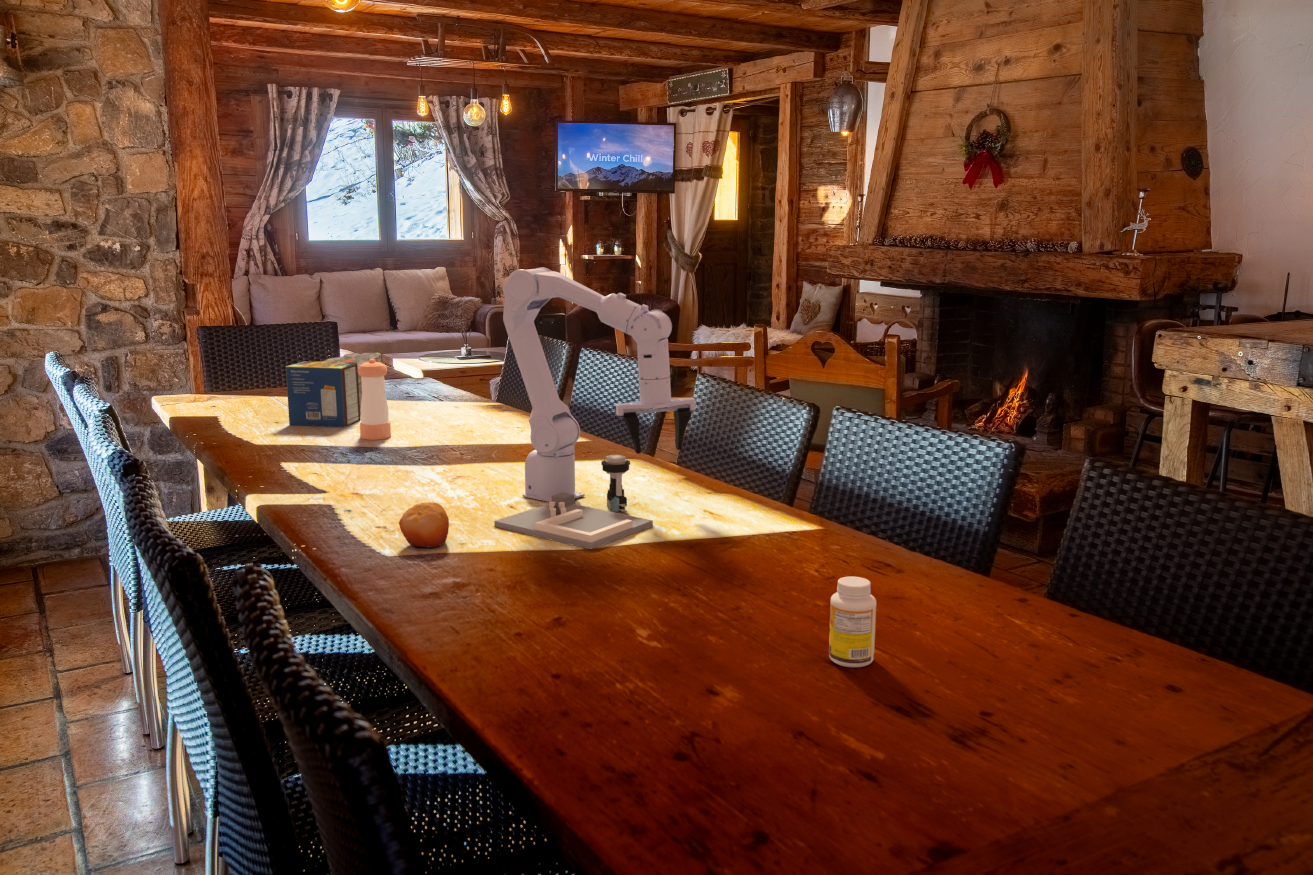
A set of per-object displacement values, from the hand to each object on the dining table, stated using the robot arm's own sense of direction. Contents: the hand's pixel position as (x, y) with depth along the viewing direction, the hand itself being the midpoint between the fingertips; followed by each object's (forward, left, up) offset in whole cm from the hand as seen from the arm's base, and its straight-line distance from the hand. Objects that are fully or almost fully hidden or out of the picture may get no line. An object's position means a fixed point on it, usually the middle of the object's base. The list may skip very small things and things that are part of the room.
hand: (658, 450), depth 200 cm
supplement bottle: (+61, -42, -11) cm, 75 cm away
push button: (-5, -5, -11) cm, 14 cm away
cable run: (-12, -14, -10) cm, 21 cm away
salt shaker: (-94, +12, -11) cm, 96 cm away
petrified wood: (-135, +36, -11) cm, 140 cm away
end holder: (0, -20, -10) cm, 23 cm away
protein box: (-119, +16, -11) cm, 121 cm away
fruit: (-17, -41, -11) cm, 46 cm away
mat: (-5, -18, -11) cm, 22 cm away
